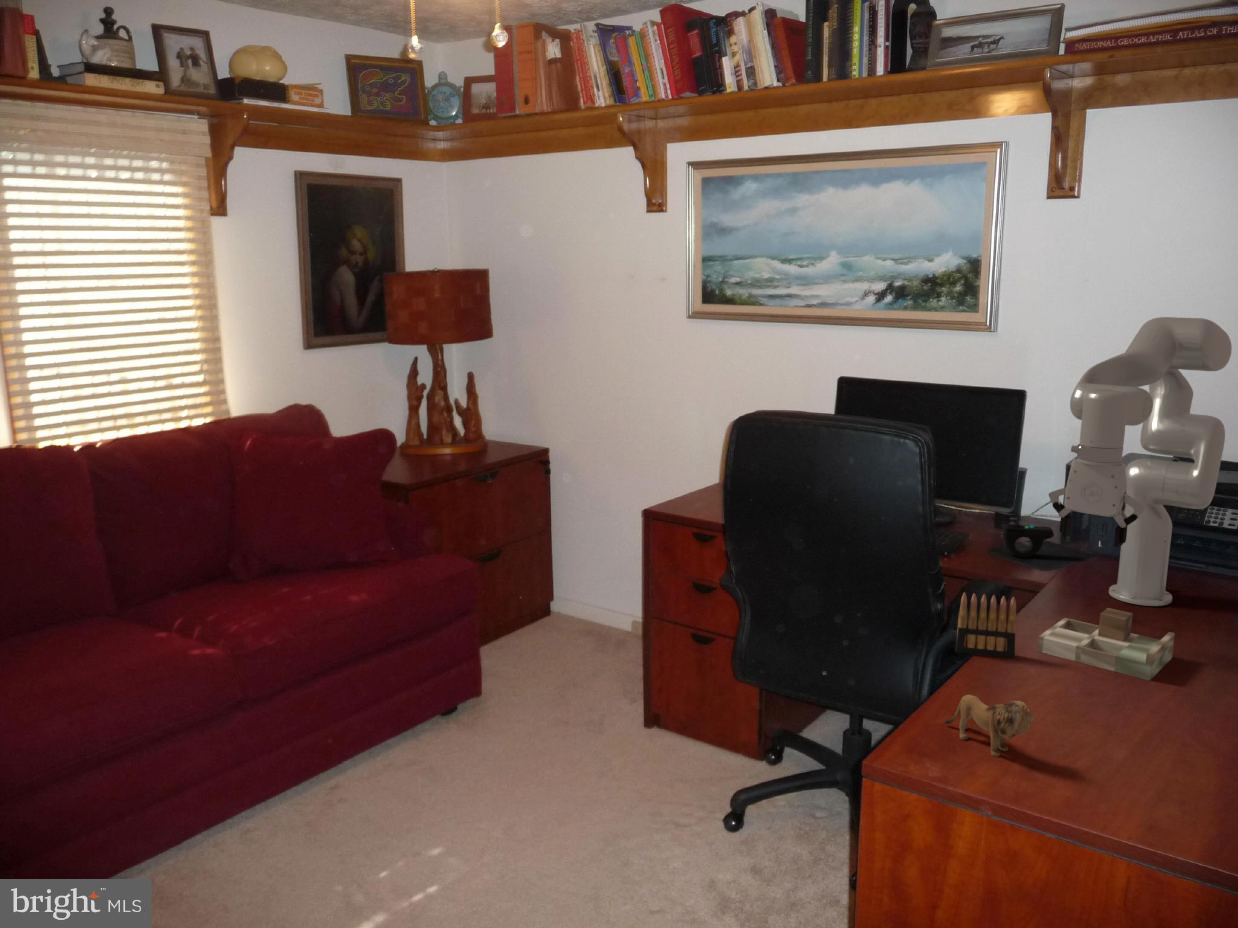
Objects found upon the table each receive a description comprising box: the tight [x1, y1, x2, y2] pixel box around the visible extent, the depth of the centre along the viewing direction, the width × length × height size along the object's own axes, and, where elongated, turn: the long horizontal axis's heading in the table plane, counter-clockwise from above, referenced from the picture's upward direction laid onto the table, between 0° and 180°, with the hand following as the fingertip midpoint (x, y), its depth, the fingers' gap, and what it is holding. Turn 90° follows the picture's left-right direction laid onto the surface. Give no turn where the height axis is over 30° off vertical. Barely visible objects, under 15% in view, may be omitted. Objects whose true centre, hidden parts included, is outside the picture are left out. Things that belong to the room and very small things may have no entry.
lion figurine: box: [943, 694, 1034, 758], centre depth 151 cm, size 15×5×9 cm, turn 36°
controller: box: [1000, 516, 1055, 558], centre depth 248 cm, size 4×12×10 cm, turn 76°
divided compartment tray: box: [1036, 617, 1176, 682], centre depth 186 cm, size 14×20×5 cm
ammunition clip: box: [954, 592, 1017, 659], centre depth 186 cm, size 11×2×12 cm, turn 73°
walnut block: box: [1098, 607, 1134, 642], centre depth 187 cm, size 4×4×4 cm
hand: (1091, 541), depth 188 cm, fingers open, 9 cm apart
